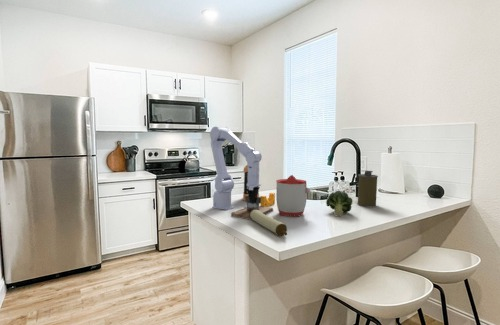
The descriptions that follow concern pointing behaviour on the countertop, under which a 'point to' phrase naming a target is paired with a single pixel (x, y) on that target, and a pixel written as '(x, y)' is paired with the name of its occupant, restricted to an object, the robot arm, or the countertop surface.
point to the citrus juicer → (291, 196)
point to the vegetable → (339, 202)
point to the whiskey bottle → (246, 182)
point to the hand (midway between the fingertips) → (253, 201)
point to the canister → (367, 189)
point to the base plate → (245, 214)
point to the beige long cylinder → (268, 222)
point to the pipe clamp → (268, 200)
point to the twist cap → (253, 205)
